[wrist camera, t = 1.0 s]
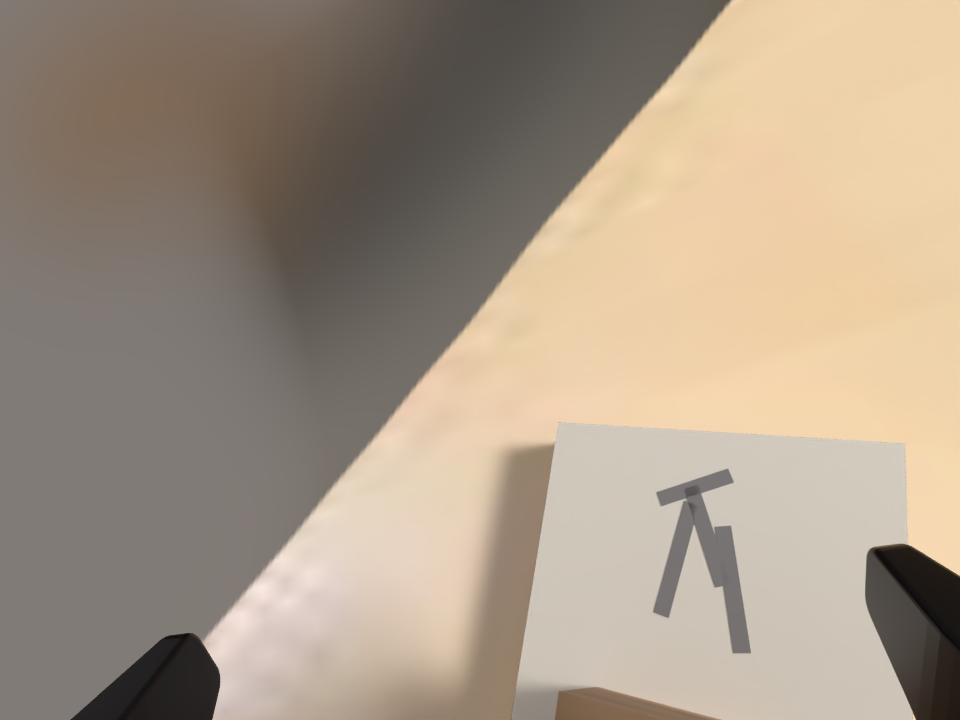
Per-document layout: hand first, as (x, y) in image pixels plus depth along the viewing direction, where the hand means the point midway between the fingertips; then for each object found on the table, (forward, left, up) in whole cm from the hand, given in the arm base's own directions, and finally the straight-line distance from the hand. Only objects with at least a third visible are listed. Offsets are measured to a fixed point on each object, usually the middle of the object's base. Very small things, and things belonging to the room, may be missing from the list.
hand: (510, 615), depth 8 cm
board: (-1, -1, -12) cm, 12 cm away
